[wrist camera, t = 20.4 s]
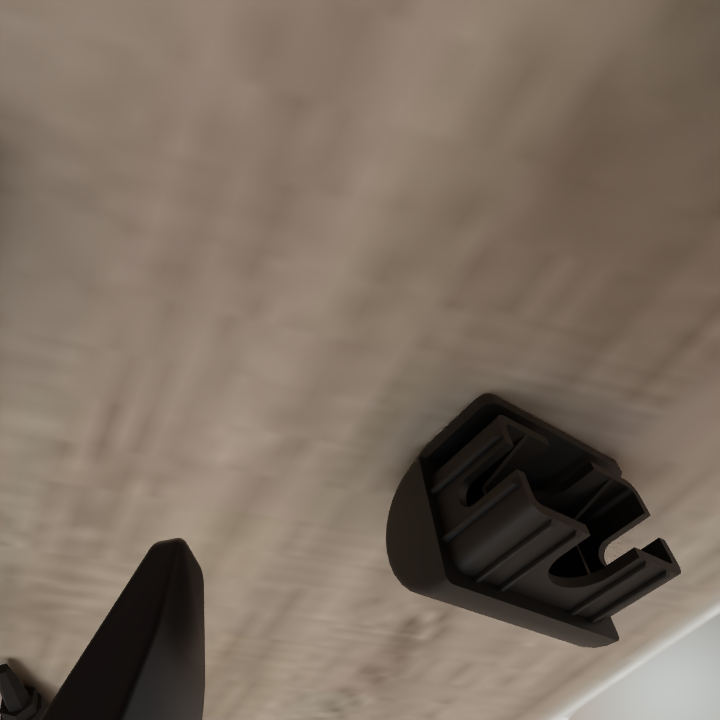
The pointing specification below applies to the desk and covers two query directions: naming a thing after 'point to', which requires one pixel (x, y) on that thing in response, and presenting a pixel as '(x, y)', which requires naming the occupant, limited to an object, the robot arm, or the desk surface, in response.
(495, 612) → the end cap
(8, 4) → the desk surface
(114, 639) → the robot arm
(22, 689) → the microphone
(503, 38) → the desk surface
